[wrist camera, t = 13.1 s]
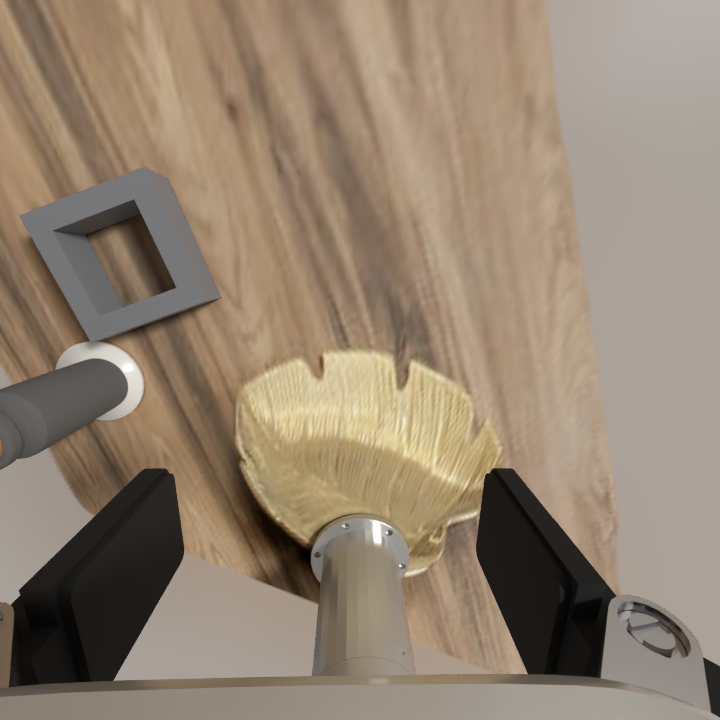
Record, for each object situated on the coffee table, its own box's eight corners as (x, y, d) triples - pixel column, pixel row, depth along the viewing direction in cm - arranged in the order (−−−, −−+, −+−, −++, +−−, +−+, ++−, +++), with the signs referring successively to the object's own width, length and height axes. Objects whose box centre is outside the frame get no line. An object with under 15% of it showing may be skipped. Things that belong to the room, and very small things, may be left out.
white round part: (159, 403, 39) (155, 406, 38) (88, 427, 40) (83, 431, 39) (119, 329, 37) (114, 330, 36) (44, 356, 37) (38, 358, 37)
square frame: (221, 297, 36) (205, 301, 32) (117, 334, 37) (91, 342, 33) (167, 178, 33) (143, 166, 29) (56, 221, 34) (19, 215, 30)
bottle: (118, 417, 39) (-22, 507, 24) (65, 393, 38) (-111, 471, 23) (137, 373, 37) (2, 440, 23) (83, 347, 36) (-92, 400, 22)
